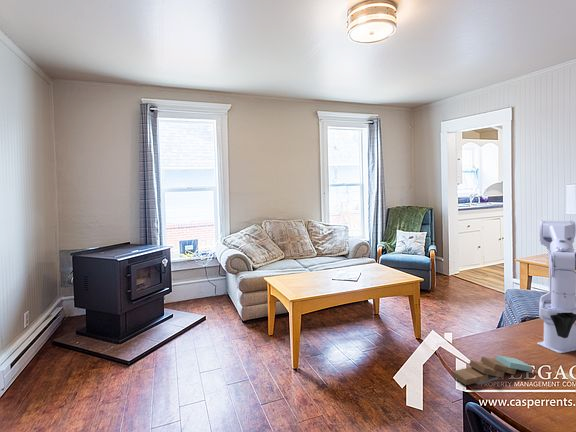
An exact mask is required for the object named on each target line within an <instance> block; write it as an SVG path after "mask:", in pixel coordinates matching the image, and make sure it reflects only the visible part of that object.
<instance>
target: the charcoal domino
mask: <svg viewBox="0 0 576 432" xmlns="http://www.w3.org/2000/svg"><path fill="white" fill-rule="evenodd" d="M499 378H500V377H497V376H493V375H488V380H487V381H482V382H478V383H474V384H476V385H477V386H478V385H483V384H486V383H489V382H493V381H497V380H499Z"/></svg>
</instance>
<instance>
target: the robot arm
mask: <svg viewBox="0 0 576 432" xmlns="http://www.w3.org/2000/svg"><path fill="white" fill-rule="evenodd" d="M538 227H539V242H540V245H543V246H545V247H546V249H547V253H548V292H547V293H545V294H543V295H541V296H540V298H539V303H538V304H539V306H538V307H539V308H538V309H539V310H538V313H539V314H538V315H539V319H541V320H543V341H538V342H537V343H536V345H539V346H541V347H543V348H545V349H548V350H551V351H553V352H555V353H557V354H563V353H569V352H573V351H574V352H575V351H576V325H575V323H576V251H575V249H574V246H573V243H574V242H575V237H576V222H575V221H574V220H543V219H542V220H540V221H539V226H538Z"/></svg>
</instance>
